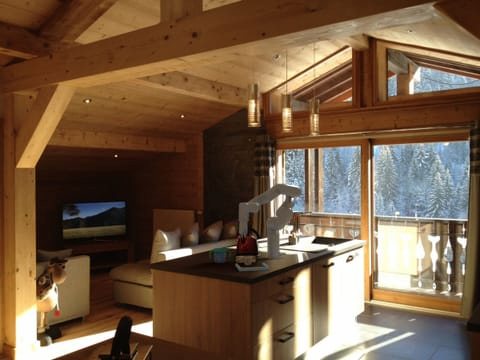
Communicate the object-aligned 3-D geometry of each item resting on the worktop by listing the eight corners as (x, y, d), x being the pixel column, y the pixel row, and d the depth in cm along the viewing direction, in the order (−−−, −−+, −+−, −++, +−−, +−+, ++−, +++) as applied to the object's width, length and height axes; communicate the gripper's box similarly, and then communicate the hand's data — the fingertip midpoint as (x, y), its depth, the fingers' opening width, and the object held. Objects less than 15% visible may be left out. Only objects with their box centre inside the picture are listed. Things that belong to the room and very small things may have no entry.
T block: (254, 261, 346) (254, 255, 346) (258, 264, 332) (258, 258, 332) (236, 261, 343) (236, 256, 343) (239, 265, 330) (239, 259, 330)
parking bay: (263, 265, 328) (263, 262, 328) (269, 270, 311) (269, 267, 311) (235, 266, 325) (235, 263, 325) (239, 271, 308) (239, 268, 308)
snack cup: (209, 264, 334) (209, 250, 334) (209, 261, 345) (209, 247, 345) (231, 263, 336) (231, 249, 336) (230, 260, 346) (230, 247, 346)
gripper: (237, 218, 356) (236, 242, 356) (240, 219, 341) (239, 244, 341) (246, 218, 357) (246, 242, 357) (250, 220, 342) (250, 244, 342)
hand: (243, 243), depth 349 cm, fingers closed
